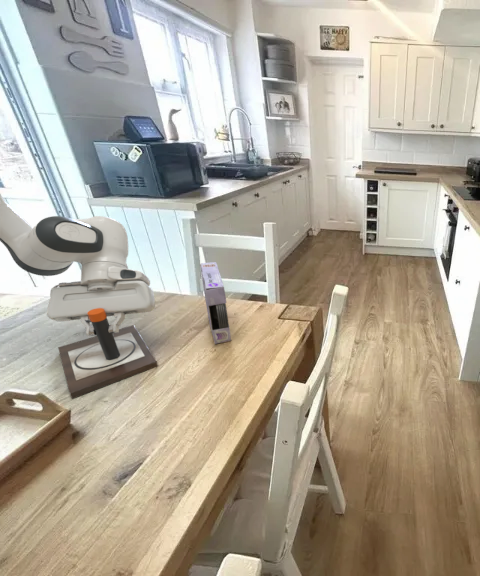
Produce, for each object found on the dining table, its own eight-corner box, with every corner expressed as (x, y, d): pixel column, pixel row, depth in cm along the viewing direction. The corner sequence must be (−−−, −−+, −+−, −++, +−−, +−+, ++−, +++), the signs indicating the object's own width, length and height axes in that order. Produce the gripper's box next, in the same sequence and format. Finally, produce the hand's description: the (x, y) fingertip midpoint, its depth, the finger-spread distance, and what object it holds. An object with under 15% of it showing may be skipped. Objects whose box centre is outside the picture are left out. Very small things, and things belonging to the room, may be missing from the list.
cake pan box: (234, 342, 91) (224, 286, 83) (214, 347, 88) (202, 289, 80) (225, 311, 105) (215, 260, 97) (207, 314, 103) (197, 263, 95)
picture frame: (60, 352, 83) (57, 346, 82) (135, 329, 94) (133, 323, 93) (72, 398, 70) (69, 392, 69) (158, 366, 80) (156, 360, 80)
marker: (103, 361, 78) (84, 315, 72) (107, 353, 81) (90, 308, 75) (118, 359, 79) (101, 313, 73) (122, 352, 82) (106, 307, 76)
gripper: (42, 278, 74) (36, 338, 70) (148, 271, 81) (148, 324, 77) (59, 288, 79) (55, 343, 75) (157, 280, 86) (157, 330, 82)
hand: (103, 333), depth 76 cm, fingers closed on marker, 3 cm apart
